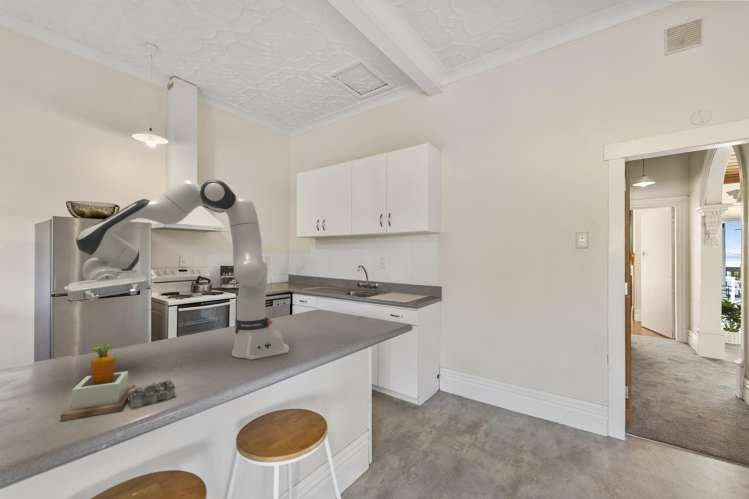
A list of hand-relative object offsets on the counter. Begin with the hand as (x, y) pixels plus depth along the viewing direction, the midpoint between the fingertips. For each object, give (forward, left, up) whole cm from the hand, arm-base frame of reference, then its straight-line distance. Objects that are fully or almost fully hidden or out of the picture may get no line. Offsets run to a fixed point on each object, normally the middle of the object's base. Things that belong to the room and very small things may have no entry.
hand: (115, 295), depth 99 cm
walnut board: (-1, +15, -27) cm, 31 cm away
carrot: (-1, +15, -26) cm, 30 cm away
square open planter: (-1, +15, -26) cm, 30 cm away
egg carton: (-13, +17, -28) cm, 35 cm away
